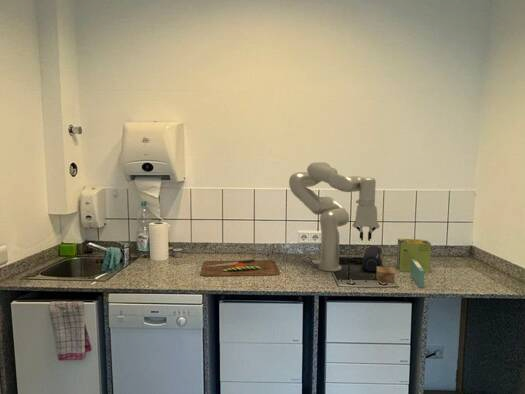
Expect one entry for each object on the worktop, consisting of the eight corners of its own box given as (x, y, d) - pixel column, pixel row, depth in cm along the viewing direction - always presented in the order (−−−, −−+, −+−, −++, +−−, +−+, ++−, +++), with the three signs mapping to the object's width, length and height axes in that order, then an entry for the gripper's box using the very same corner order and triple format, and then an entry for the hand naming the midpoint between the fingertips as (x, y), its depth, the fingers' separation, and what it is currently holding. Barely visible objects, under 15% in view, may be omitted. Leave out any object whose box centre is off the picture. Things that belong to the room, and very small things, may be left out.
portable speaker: (381, 274, 204) (381, 255, 202) (361, 272, 207) (361, 253, 206) (383, 262, 227) (383, 245, 226) (365, 260, 230) (365, 243, 229)
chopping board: (194, 278, 196) (194, 271, 196) (199, 263, 223) (199, 257, 222) (285, 276, 200) (285, 270, 199) (278, 262, 226) (278, 257, 226)
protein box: (429, 273, 207) (431, 243, 205) (398, 271, 210) (400, 242, 208) (425, 267, 217) (427, 239, 215) (396, 265, 220) (397, 238, 218)
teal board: (419, 287, 183) (420, 270, 183) (410, 274, 203) (411, 259, 202) (423, 287, 183) (424, 270, 182) (414, 274, 203) (415, 259, 202)
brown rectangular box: (376, 281, 192) (376, 271, 191) (376, 275, 201) (376, 266, 201) (393, 283, 190) (394, 273, 189) (392, 277, 199) (393, 267, 199)
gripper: (350, 203, 191) (348, 241, 193) (385, 204, 188) (383, 242, 190) (349, 201, 198) (348, 237, 200) (383, 202, 196) (381, 239, 198)
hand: (365, 239), depth 195 cm, fingers open, 2 cm apart
